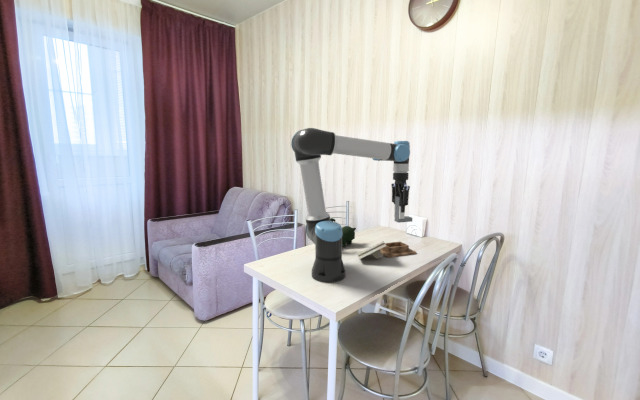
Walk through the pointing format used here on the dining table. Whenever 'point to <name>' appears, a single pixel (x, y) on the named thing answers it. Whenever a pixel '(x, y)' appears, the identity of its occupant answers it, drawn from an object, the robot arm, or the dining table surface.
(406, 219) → the bracket
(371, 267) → the dining table surface
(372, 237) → the dining table surface
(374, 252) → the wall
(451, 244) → the dining table surface
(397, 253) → the brown wooden flat frame
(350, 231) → the toy figurine
